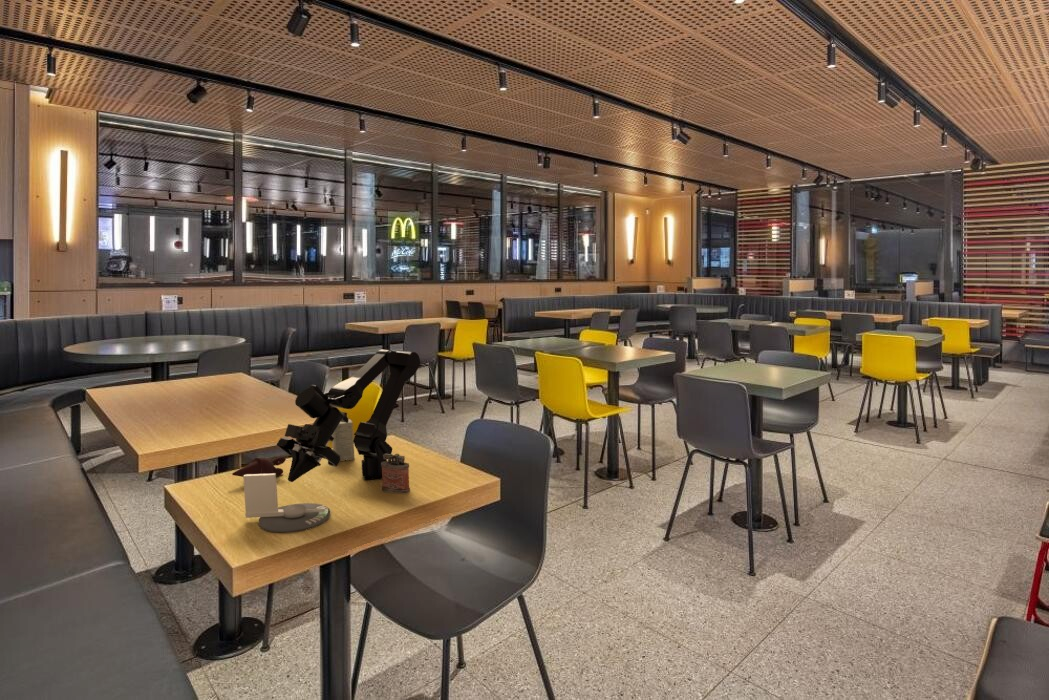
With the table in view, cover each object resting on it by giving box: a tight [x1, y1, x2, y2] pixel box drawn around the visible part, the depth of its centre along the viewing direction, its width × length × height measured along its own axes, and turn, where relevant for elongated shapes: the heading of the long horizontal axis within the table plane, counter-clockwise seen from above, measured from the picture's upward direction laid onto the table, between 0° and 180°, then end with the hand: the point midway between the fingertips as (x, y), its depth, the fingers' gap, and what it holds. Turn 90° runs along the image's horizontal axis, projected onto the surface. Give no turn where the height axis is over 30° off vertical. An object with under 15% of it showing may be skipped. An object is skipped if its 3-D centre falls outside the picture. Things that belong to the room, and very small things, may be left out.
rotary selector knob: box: [243, 473, 325, 519], centre depth 146 cm, size 18×5×10 cm, turn 96°
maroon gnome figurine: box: [231, 455, 286, 477], centre depth 174 cm, size 7×7×15 cm
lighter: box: [381, 453, 411, 494], centre depth 165 cm, size 8×3×10 cm, turn 71°
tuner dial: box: [258, 502, 331, 534], centre depth 147 cm, size 16×16×1 cm
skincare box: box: [331, 418, 356, 462], centre depth 193 cm, size 6×4×12 cm
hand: (289, 481), depth 153 cm, fingers closed
